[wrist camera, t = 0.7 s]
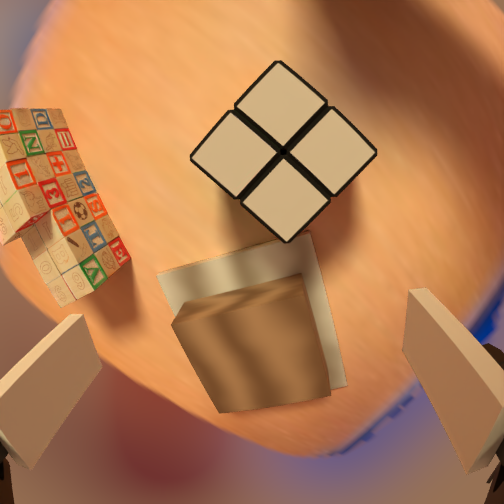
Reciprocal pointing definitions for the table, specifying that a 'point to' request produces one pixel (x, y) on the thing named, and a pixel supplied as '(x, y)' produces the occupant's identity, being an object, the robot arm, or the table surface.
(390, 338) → the table surface
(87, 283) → the stack of blocks
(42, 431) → the robot arm
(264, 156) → the puzzle cube
